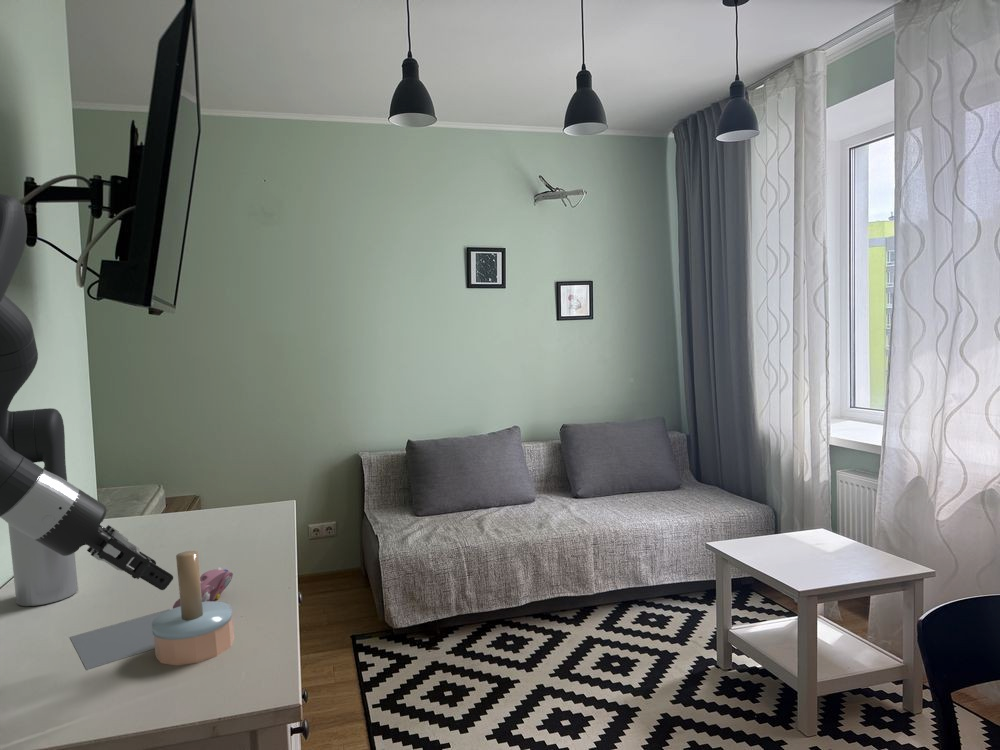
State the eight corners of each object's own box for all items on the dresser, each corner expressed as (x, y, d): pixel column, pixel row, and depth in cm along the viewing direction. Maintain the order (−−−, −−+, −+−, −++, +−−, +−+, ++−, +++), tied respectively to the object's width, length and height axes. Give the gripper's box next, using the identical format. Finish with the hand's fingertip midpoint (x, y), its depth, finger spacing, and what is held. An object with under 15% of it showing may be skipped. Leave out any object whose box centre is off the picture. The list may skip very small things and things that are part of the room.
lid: (143, 623, 100) (137, 555, 99) (218, 602, 106) (212, 537, 105) (163, 647, 92) (157, 572, 91) (242, 622, 98) (237, 552, 98)
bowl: (149, 650, 100) (146, 623, 100) (220, 627, 106) (218, 602, 106) (168, 674, 92) (165, 645, 92) (243, 649, 99) (241, 622, 98)
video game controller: (191, 627, 111) (206, 589, 110) (168, 614, 112) (182, 576, 111) (227, 602, 121) (241, 567, 119) (205, 590, 121) (219, 555, 120)
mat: (69, 639, 105) (69, 636, 105) (169, 611, 114) (169, 609, 114) (86, 672, 94) (86, 669, 94) (195, 638, 103) (194, 635, 103)
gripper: (87, 495, 84) (194, 563, 92) (66, 479, 95) (164, 541, 103) (39, 549, 81) (154, 615, 89) (23, 526, 92) (127, 587, 100)
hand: (159, 575), depth 96 cm, fingers open, 8 cm apart
